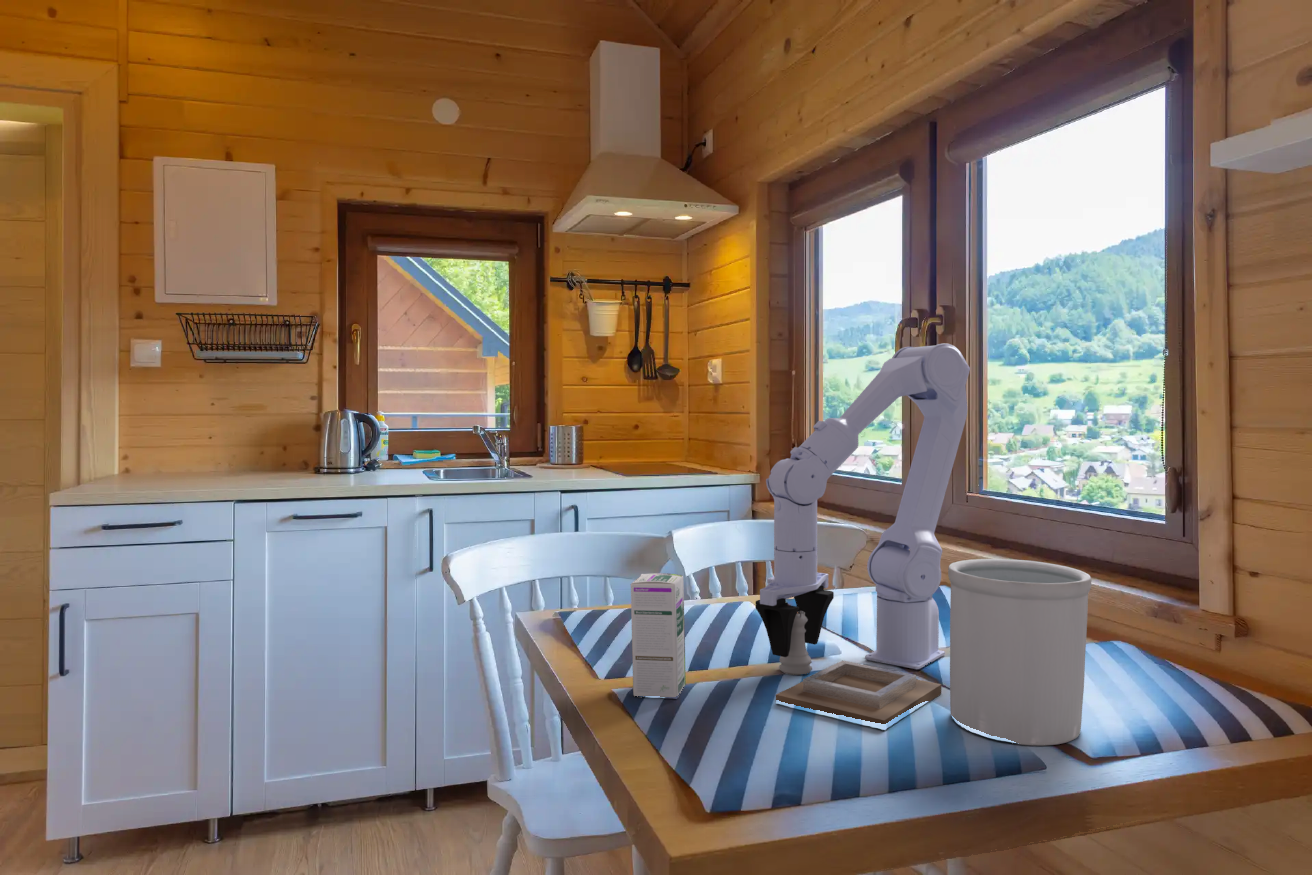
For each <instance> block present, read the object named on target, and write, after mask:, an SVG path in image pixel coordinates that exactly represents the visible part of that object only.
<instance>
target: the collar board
mask: <svg viewBox="0 0 1312 875" xmlns="http://www.w3.org/2000/svg"><path fill="white" fill-rule="evenodd" d="M941 695H942V683H937V682H933V681H927V680H922V679H918V678H917V674H911V673H907V672H902V671H897V670H892V669H888V668H882V667H878V666H872V665H867V664H862V663H856V662H852V661H847V660H840V661H838V662H837V663H834V664H832V665H830V666H828V667H826V668H824V669H821V670H819V671H817V672H815V673H813V674H811V675H809V676H807V677H805V678H803V679H802V681H801V682H799V683H797V684H794V685H792V686H791V687H788V688H786V689H784V690H782V691H781V692H778V693H776V694H775V701H776V700H779V701H781V702H785V703H788V704H794V705H796V706H801V707H804V708H809V709H810V708H811V709H813V710H820V711H824V712H827V713H832V714H833V713H834V714H836V715H844V716H846V717H852V718H855V719H861V720H865V721H870V722H875V723H881V724H886V723H888V722H889V721H891V720H892V719H894V718H895V717H898V715H901V714H902V713H904V712H906V711H907V710H909V709H911V708H913V707H914V706H916V705H918V704H920V703H922V702H925V701H929V702H928V703H930V702H931V701H933V700H934V699H936V698H937V697H939V696H941Z"/></svg>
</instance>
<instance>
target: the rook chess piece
mask: <svg viewBox="0 0 1312 875" xmlns="http://www.w3.org/2000/svg"><path fill="white" fill-rule="evenodd" d="M807 621H808V619H807V618H806V616H805V612H803V611H800V614H798V613H797V614H796V617H795V619H794V623H793V627H792V633H791V644H790V651H789V655H788V656H787V657H782V656H779V663H780V665H778V668H779V670H780V671H781V673H783V674H785V675H789V676H802V675H801V674H805V675H808V674H810V672H811V671H813V667H812V666H811V664H812V663H813V662H812V658H811V656H810V655H809V652H808V651H807V647H806V643H805V632H806V630H805V628H804V625H805V623H806V622H807ZM807 673H808V674H807Z"/></svg>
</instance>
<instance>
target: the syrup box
mask: <svg viewBox="0 0 1312 875" xmlns="http://www.w3.org/2000/svg"><path fill="white" fill-rule="evenodd" d="M684 590H685V589H684V576H683V575H682V574H678V573H677V574H676V573H669V572H668V573H666V572H661V573H659V572H655V573H654V572H653V573H641V574H640V576H639V577H638V578H636V579H634V581H632V582H631V583H630V606H631V608H630V610H631V611H630V612H631V613H630V614H631V652H632V653H631V655H632V656H631V657H632V658H631V659H632V690H633V691H632V692H633V693H632V694H633V696H634V697H635V696H637V697H636V698H639V697H638V696H643V697H644V696H660V697H676V696H678V695H679V693H680V694H682V692H681V691H683V690H682V689H684V688H685V687H686V685H687V683H686V681H687V680H686V678H687V677H686V674H687V673H686V641H685V640H686V634H685V633H686V632H685V596H684V592H685V591H684ZM683 687H684V688H683ZM679 696H680V695H679ZM679 696H678V697H679Z"/></svg>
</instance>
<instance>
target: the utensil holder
mask: <svg viewBox="0 0 1312 875" xmlns="http://www.w3.org/2000/svg"><path fill="white" fill-rule="evenodd" d="M947 573H948V580H949V582H950V603H949V604H950V611H949V613H950V615H949V616H950V617H949V653H950V654H949V697H950V698H949V700H950V702H949V703H950V704H949V705H950V706H949V707H950V709H949V710H950V711H949V712H950V716H951V715H952V716H953V717H954V718H955V719H956V720H957V721H959V722H960V723H962V724H964V725H966V726H969V727H970V728H973V729H976V730H979V731H981V732H984V733H986V734H989V735H991V736H997V737H1000V738H1006V739H1008V740H1011V741H1014V742H1016V743H1019V744H1018V745H1023V746H1054V745H1060V744H1061V745H1062V744H1065V743H1070V742H1072V741H1074V740H1075V739H1077V738H1078V737H1079V736H1080V734H1081V729H1082V721H1083V720H1082V719H1083V717H1082V716H1083V703H1084V702H1083V701H1084V693H1085V692H1084V690H1085V676H1086V674H1085V669H1086V650H1087V649H1086V647H1087V634H1088V633H1087V632H1088V631H1087V630H1088V629H1087V628H1088V612H1089V611H1088V609H1089V608H1088V605H1089V603H1088V602H1089V592H1090V591H1091V589H1092V577H1091V575H1090V574H1089V573H1086V572H1085V571H1082V570H1080V569H1076V568H1073V567H1069V566H1065V565H1060V564H1054V563H1049V562H1042V561H1036V560H1026V559H1025V560H1024V559H1007V558H978V559H976V558H975V559H963V560H958V561H956V562H955V561H953V562H952V563H950V564H949V565H948V569H947Z"/></svg>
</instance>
